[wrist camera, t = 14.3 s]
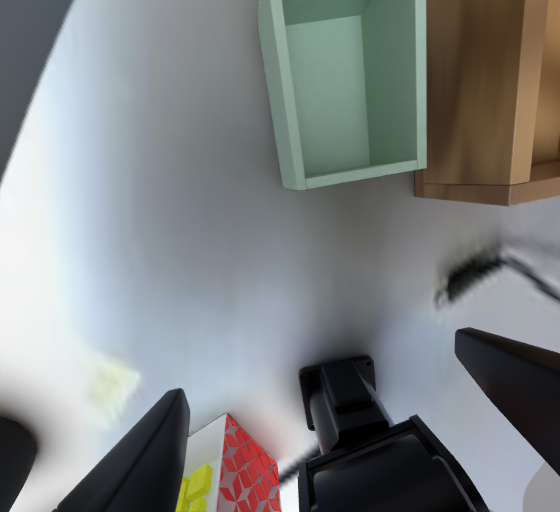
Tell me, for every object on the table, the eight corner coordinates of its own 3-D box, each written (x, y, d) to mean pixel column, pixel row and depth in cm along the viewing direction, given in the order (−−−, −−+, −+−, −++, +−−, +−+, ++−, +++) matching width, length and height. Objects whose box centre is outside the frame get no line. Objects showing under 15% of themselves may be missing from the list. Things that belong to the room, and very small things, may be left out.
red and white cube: (226, 412, 23) (214, 524, 16) (277, 462, 26) (288, 581, 18) (154, 459, 24) (109, 588, 16) (210, 504, 26) (193, 636, 19)
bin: (373, 171, 19) (427, 168, 13) (282, 187, 19) (296, 190, 13) (364, 9, 16) (426, -84, 10) (257, 24, 16) (260, -64, 10)
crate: (551, 172, 20) (715, 168, 13) (414, 197, 20) (508, 206, 13) (582, -64, 16) (841, -255, 9) (410, -42, 16) (545, -228, 9)
